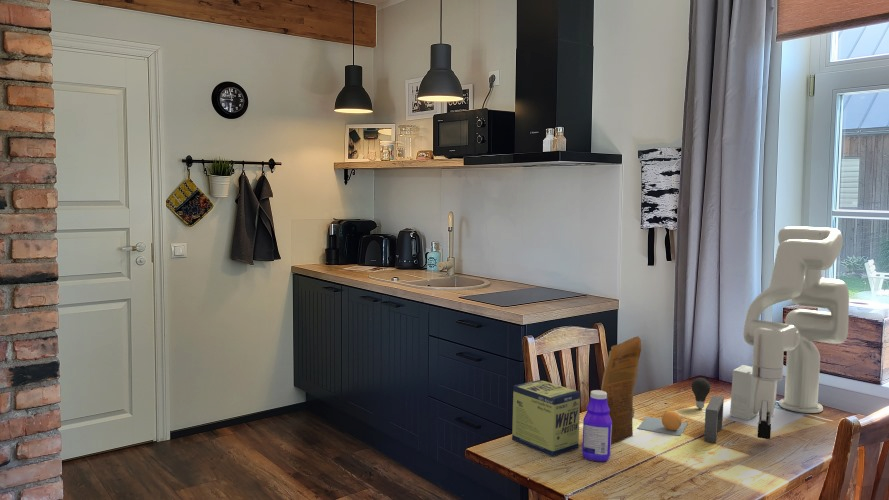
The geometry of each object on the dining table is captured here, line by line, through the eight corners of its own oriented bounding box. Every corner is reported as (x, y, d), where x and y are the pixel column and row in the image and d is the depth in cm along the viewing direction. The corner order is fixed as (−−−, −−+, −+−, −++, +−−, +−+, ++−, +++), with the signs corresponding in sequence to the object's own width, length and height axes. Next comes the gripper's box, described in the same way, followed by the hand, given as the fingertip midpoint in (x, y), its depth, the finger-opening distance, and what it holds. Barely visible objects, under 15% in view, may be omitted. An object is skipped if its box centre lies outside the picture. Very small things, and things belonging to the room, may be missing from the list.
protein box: (553, 457, 181) (554, 398, 179) (511, 440, 193) (512, 384, 191) (580, 448, 187) (581, 391, 186) (537, 432, 199) (538, 378, 198)
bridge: (704, 441, 193) (705, 409, 192) (711, 426, 206) (712, 395, 205) (715, 443, 192) (717, 410, 191) (722, 428, 205) (723, 397, 204)
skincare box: (739, 410, 221) (741, 364, 220) (759, 414, 217) (761, 367, 216) (729, 416, 215) (731, 369, 214) (749, 421, 211) (751, 372, 210)
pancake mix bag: (646, 434, 199) (650, 336, 196) (607, 450, 186) (611, 346, 183) (625, 428, 204) (629, 332, 201) (586, 443, 191) (589, 342, 188)
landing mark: (646, 417, 214) (646, 416, 214) (687, 423, 208) (687, 423, 208) (637, 428, 203) (637, 428, 203) (680, 436, 197) (680, 435, 197)
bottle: (611, 456, 182) (614, 390, 180) (609, 464, 176) (611, 396, 175) (583, 452, 184) (585, 387, 183) (580, 460, 179) (582, 393, 177)
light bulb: (710, 412, 219) (712, 380, 218) (691, 411, 220) (693, 379, 219) (707, 406, 225) (709, 376, 224) (689, 405, 226) (690, 375, 225)
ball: (680, 408, 204) (683, 427, 204) (660, 409, 206) (663, 428, 206) (680, 413, 199) (682, 432, 199) (659, 414, 201) (662, 433, 200)
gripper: (754, 364, 199) (751, 427, 201) (749, 376, 186) (746, 443, 188) (783, 368, 196) (780, 432, 197) (781, 380, 183) (777, 449, 184)
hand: (763, 437), depth 193 cm, fingers closed
